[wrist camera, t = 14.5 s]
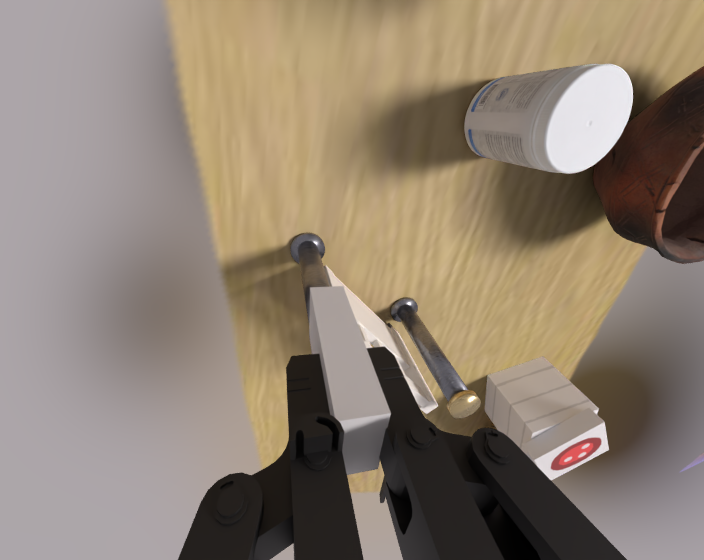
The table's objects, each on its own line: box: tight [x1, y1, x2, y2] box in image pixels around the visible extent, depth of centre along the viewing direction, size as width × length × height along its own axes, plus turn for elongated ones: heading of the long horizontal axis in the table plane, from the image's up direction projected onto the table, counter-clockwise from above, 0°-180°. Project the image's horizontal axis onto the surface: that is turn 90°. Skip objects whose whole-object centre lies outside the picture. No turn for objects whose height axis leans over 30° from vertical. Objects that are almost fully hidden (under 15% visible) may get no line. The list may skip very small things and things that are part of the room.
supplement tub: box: [464, 64, 633, 174], centre depth 34 cm, size 10×10×15 cm
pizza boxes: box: [484, 356, 609, 480], centre depth 71 cm, size 19×30×18 cm, turn 12°
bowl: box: [593, 66, 704, 264], centre depth 42 cm, size 25×25×15 cm
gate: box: [324, 265, 438, 414], centre depth 42 cm, size 20×2×18 cm, turn 39°
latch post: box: [391, 298, 481, 418], centre depth 45 cm, size 5×5×21 cm
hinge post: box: [291, 233, 330, 320], centre depth 35 cm, size 5×5×20 cm
